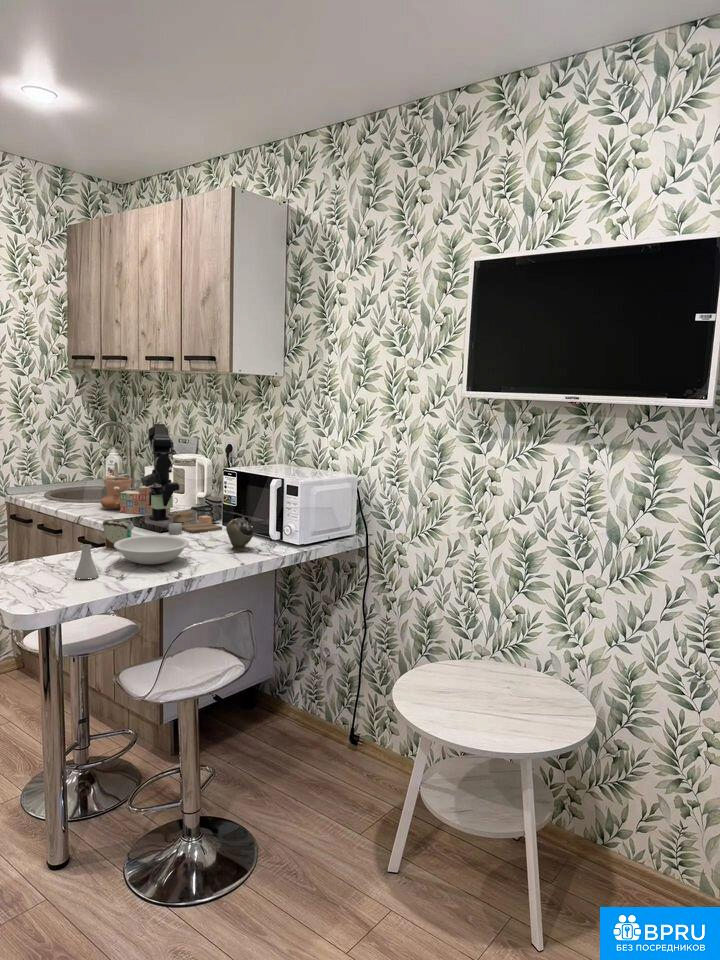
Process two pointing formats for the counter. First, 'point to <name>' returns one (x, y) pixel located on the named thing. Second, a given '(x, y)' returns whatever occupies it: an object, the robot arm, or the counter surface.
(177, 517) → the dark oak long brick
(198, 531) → the walnut board
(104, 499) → the ceramic jug
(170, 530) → the grey plastic cylinder
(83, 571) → the flask
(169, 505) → the sage green brick
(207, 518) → the terracotta block
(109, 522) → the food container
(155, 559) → the soup bowl
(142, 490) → the stack of blocks
